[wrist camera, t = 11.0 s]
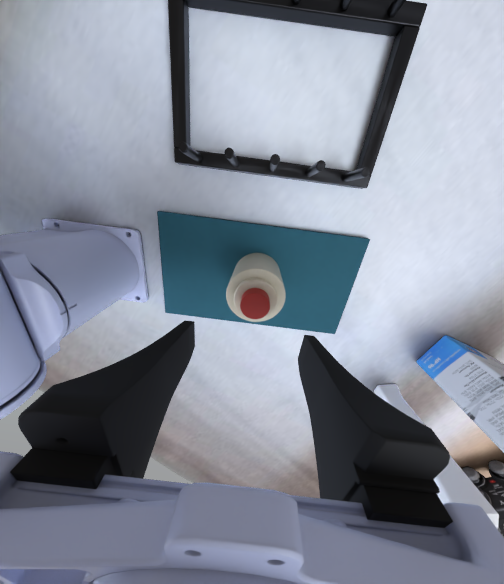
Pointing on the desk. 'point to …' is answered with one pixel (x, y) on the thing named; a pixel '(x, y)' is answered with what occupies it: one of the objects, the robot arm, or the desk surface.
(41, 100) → the desk surface
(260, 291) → the cream bottle
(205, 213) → the desk surface
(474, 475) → the game controller
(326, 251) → the mat
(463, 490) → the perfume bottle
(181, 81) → the drying rack
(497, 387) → the ink box
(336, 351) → the desk surface
